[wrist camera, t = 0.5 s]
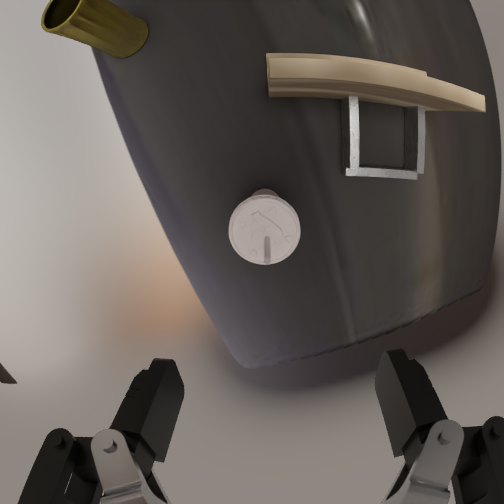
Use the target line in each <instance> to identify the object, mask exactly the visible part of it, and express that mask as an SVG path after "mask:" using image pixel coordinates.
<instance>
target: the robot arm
mask: <svg viewBox="0 0 504 504" xmlns="http://www.w3.org/2000/svg"><path fill="white" fill-rule="evenodd" d="M375 390H376V393H377V397H378V400H379V403H380V406H381V410H382V414H383V417H384V421H385V424H386V428H387V431H388V435H389V438H390V442H391V446H392V450H393V454H394V457H398V456H402V455H404V458H405V462H404V463H403V465H402V467H401V469H400V471H399V473H398V475H397V477H396V479H395V480H394V482H393V484H392V486H391V488H390V490H389V491H388V493H387V494H386V496H385V498H384V499H383V501H382V502H381V504H448V501H449V498H450V491H448V485H449V482H450V480H452V485H453V490H454V495H455V501H456V504H504V418H502V417H499V416H494V417H491V418H489V419H488V420H487V421H486V422H485V423H484V425H483V426H475V427H461V426H460V425H459V424H458V423H457V422H455V421H453V420H449V419H448V418H447V416H446V414H445V411H444V409H443V407H442V405H441V402H440V400H439V398H438V396H437V394H436V392H435V390H434V388H433V387H432V383H431V381H430V379H428V375H427V373H426V371H425V369H424V367H423V366H422V365H421V364H419V363H418V362H417V361H416V360H415V359H413V360H409V359H408V357H407V355H406V353H405V351H404V350H403V349H396V350H390V351H384V352H383V354H382V357H381V360H380V364H379V367H378V370H377V374H376V377H375ZM125 396H126V397H125V398H124V399H123V401H122V404H121V406H120V408H119V410H118V412H117V414H116V416H115V418H114V420H113V422H112V425H111V426H110V428H109V429H106V430H102V431H100V432H98V433H97V434H96V435H95V436H94V437H74V436H73V435H72V434H71V433H70V432H69V431H68V430H66V429H63V428H58V429H54V430H52V431H51V432H50V433H49V434H48V435H47V437H46V439H45V441H44V443H43V445H42V447H41V449H40V451H39V454H38V456H37V458H36V460H35V462H34V465H33V467H32V469H31V471H30V474H29V476H28V479H27V481H26V483H25V486H24V489H23V491H22V494H21V496H20V499H19V502H18V504H99V503H100V502H101V504H171V502H170V501H169V499H168V497H167V496H166V493H165V491H164V490H163V488H162V486H161V484H160V482H159V480H158V478H157V476H156V474H155V472H154V470H153V468H152V466H153V463H154V461H158V462H164V461H165V457H166V454H167V450H168V447H169V444H170V441H171V437H172V434H173V431H174V427H175V424H176V421H177V417H178V414H179V411H180V408H181V405H182V401H183V398H184V384H183V381H182V379H181V376H180V374H179V371H178V369H177V366H176V363H175V361H174V360H172V359H160V358H155V359H153V361H152V363H151V365H150V367H149V369H148V370H142V371H141V372H140V373H139V374H138V375H137V376H136V377H134V379H133V381H132V383H131V385H130V388H129V390H128V392H127V393H126V395H125ZM71 474H72V476H71ZM70 476H71V479H70ZM69 479H70V482H69ZM68 482H69V485H68ZM67 485H68V487H67ZM66 487H67V490H66ZM65 490H66V493H65ZM103 490H104V495H103V496H102V493H103Z"/></svg>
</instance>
